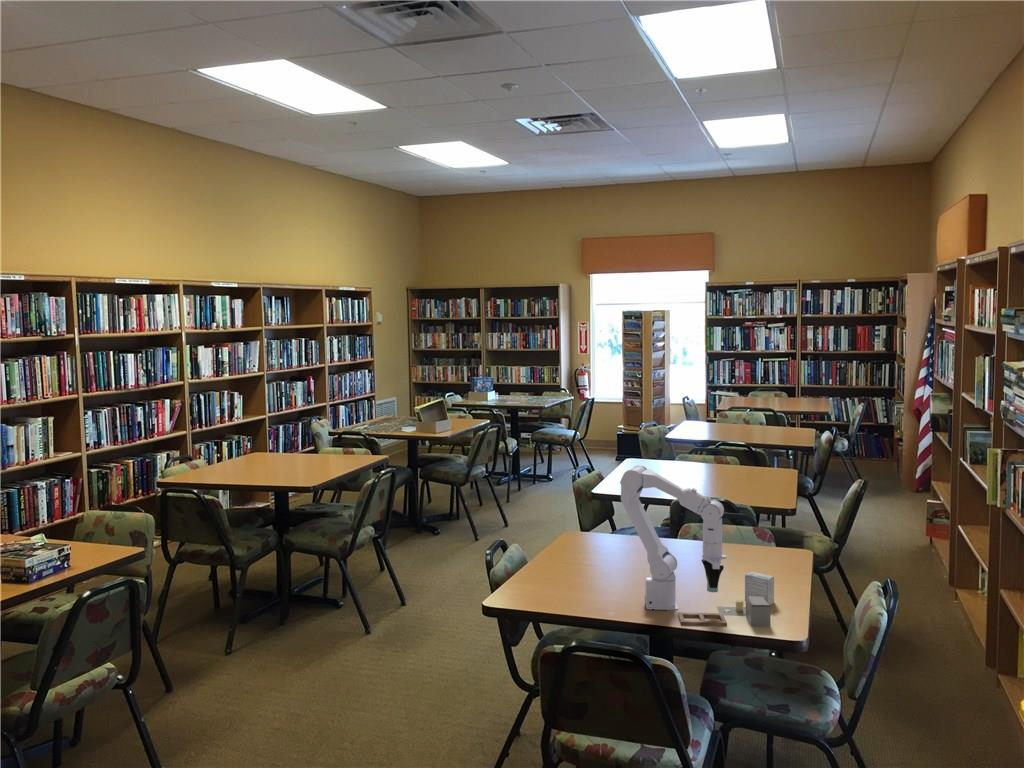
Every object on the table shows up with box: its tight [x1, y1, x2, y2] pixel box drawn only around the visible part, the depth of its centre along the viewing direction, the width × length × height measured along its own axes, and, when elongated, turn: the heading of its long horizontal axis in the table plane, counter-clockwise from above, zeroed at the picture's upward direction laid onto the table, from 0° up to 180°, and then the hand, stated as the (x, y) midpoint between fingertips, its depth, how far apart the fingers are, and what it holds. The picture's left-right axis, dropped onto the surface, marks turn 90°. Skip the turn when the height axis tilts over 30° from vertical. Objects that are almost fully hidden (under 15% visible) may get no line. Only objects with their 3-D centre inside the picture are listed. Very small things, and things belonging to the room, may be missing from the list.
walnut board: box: [677, 611, 728, 627], centre depth 234 cm, size 13×8×1 cm, turn 84°
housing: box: [745, 596, 772, 628], centre depth 233 cm, size 8×5×6 cm
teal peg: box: [706, 575, 719, 593], centre depth 241 cm, size 3×3×6 cm
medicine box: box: [744, 571, 775, 605], centre depth 250 cm, size 8×4×9 cm, turn 48°
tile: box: [716, 599, 746, 617], centre depth 242 cm, size 9×7×3 cm
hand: (712, 585), depth 241 cm, fingers closed on teal peg, 3 cm apart
